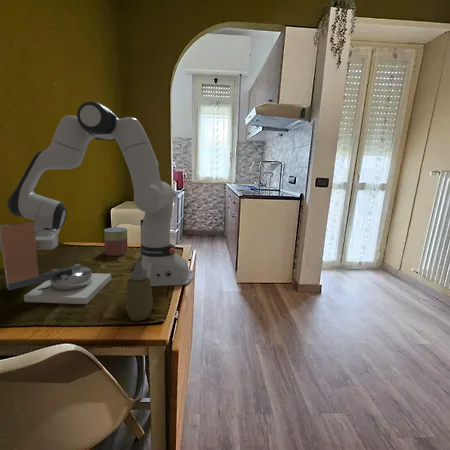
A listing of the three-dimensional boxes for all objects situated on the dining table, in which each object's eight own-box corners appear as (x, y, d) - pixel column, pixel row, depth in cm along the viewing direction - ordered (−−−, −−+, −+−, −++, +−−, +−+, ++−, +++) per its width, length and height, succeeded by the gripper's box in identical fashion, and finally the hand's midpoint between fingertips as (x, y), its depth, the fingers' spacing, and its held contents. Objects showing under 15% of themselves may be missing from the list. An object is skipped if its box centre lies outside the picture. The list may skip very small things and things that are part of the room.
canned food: (110, 248, 145) (109, 226, 143) (131, 249, 145) (130, 227, 142) (100, 254, 134) (99, 231, 132) (122, 256, 134) (121, 232, 131)
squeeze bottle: (155, 309, 86) (155, 256, 82) (149, 324, 78) (149, 265, 74) (130, 309, 85) (128, 255, 82) (121, 323, 77) (119, 264, 74)
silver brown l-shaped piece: (82, 273, 105) (78, 214, 100) (98, 283, 97) (95, 219, 92) (3, 293, 86) (-6, 222, 81) (15, 308, 78) (5, 229, 73)
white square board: (111, 279, 107) (111, 273, 106) (86, 304, 87) (86, 297, 86) (60, 277, 106) (60, 271, 106) (24, 301, 87) (23, 294, 86)
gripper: (-4, 229, 93) (-33, 239, 79) (61, 229, 96) (43, 239, 83) (-1, 246, 94) (-30, 259, 81) (62, 246, 98) (45, 258, 84)
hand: (8, 249), depth 82 cm, fingers closed
